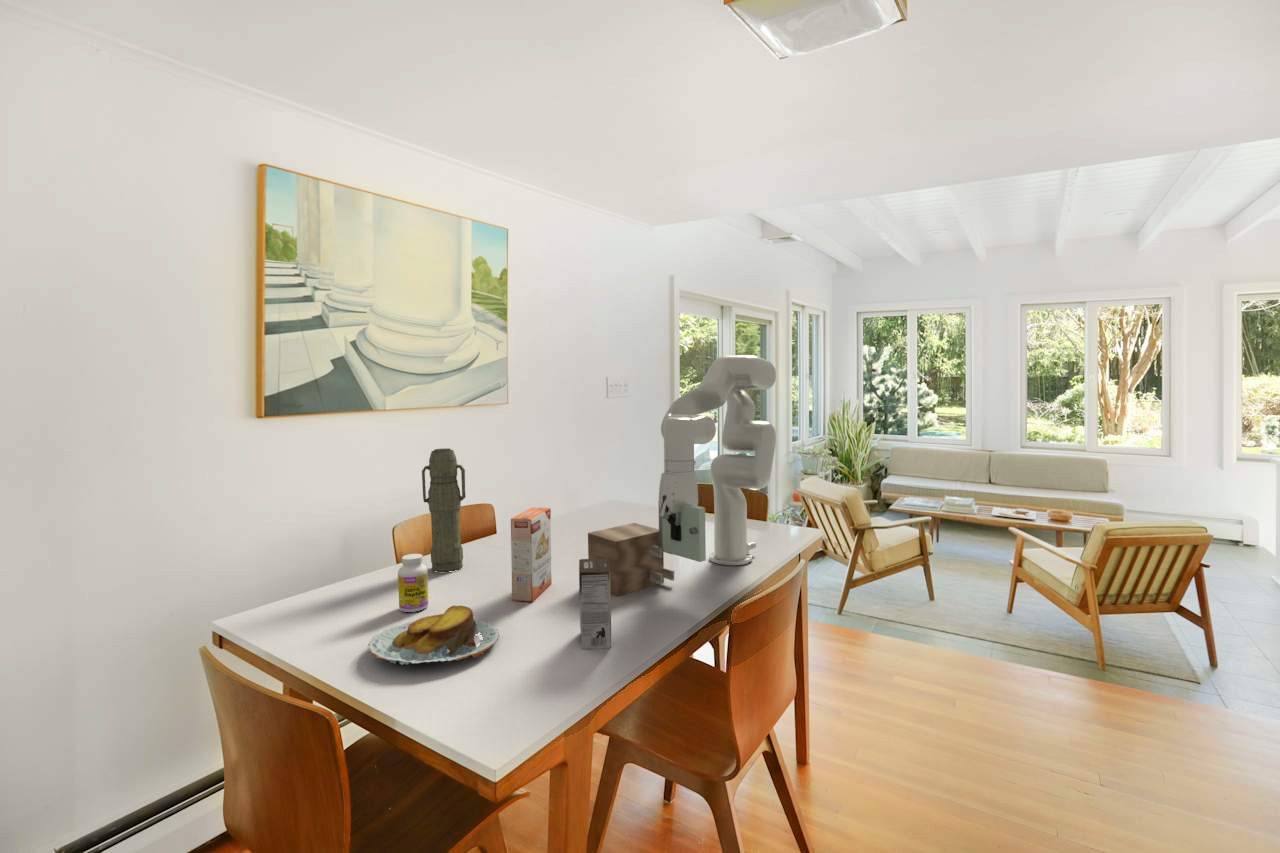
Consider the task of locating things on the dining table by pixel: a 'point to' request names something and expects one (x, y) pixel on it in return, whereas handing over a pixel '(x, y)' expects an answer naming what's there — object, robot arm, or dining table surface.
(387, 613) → the dining table surface
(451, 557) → the thermos
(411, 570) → the supplement bottle
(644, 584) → the cabinet
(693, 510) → the door
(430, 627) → the food on plate
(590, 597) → the coffee box
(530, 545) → the cracker box
